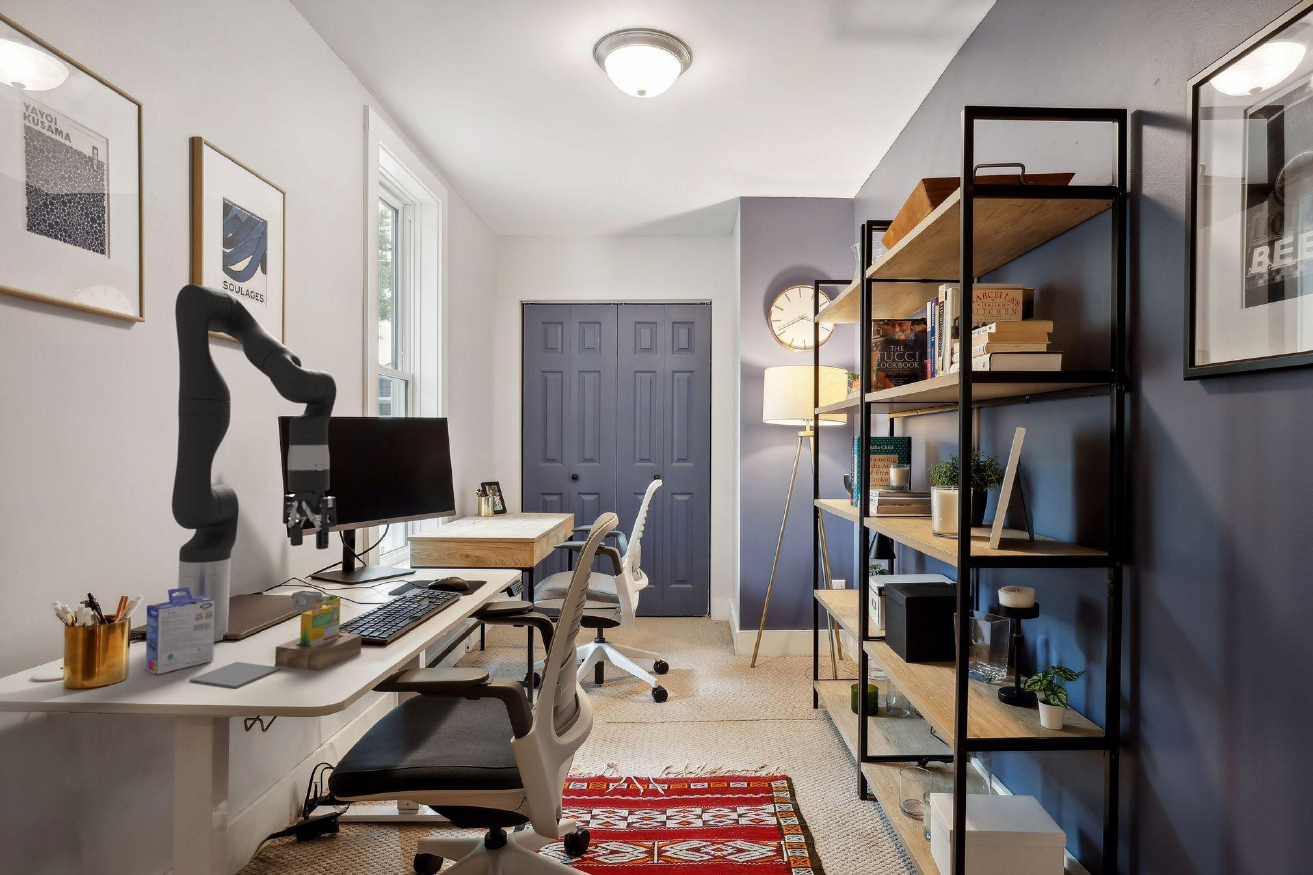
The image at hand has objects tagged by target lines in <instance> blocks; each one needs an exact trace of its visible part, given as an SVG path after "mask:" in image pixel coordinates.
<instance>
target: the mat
mask: <svg viewBox="0 0 1313 875" xmlns="http://www.w3.org/2000/svg"><path fill="white" fill-rule="evenodd" d="M280 670H281V667H278V666H271V665H265V664H257V663H248V662H241V661H236V662H232V663H229V664H227V665H223V666H221V667H219V668H216V669H214V670H211V671H209V672H206V673H202V674H200V675H197V676H195V677H192V678H189V682H190V683H198V684H203V685H204V684H205V685H211V686H217V687H218V686H219V687H223V688H224V687H225V688H233V689H238V688H241V687H242V686H243V687H244V686H245V685H247V684H249V683H252V682H255V681H257V680H260V679H261V678H264V677H266V676H269V675H271V674H274V673H276V672H277V671H280Z"/></svg>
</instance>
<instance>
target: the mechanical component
mask: <svg viewBox="0 0 1313 875" xmlns="http://www.w3.org/2000/svg"><path fill="white" fill-rule="evenodd" d="M291 598H292V601H293V602H292V604H293V608H294V610H296V611H297V612H308V611H312V605H315V604H318V603H322V602H326V601H330V600H334V599H337V598H338V596H337V595H335V594H328V595H327V596H326V598H325V596H323V591H314V590H313V591H311V590H302V589H301V590H299V591H295V592H294V591H293V593H292V594H291ZM329 605H333V604H332V603H331V604H325V605H324V606H325V607H326V606H329ZM322 607H323V606H321V607H320V608H322Z"/></svg>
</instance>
